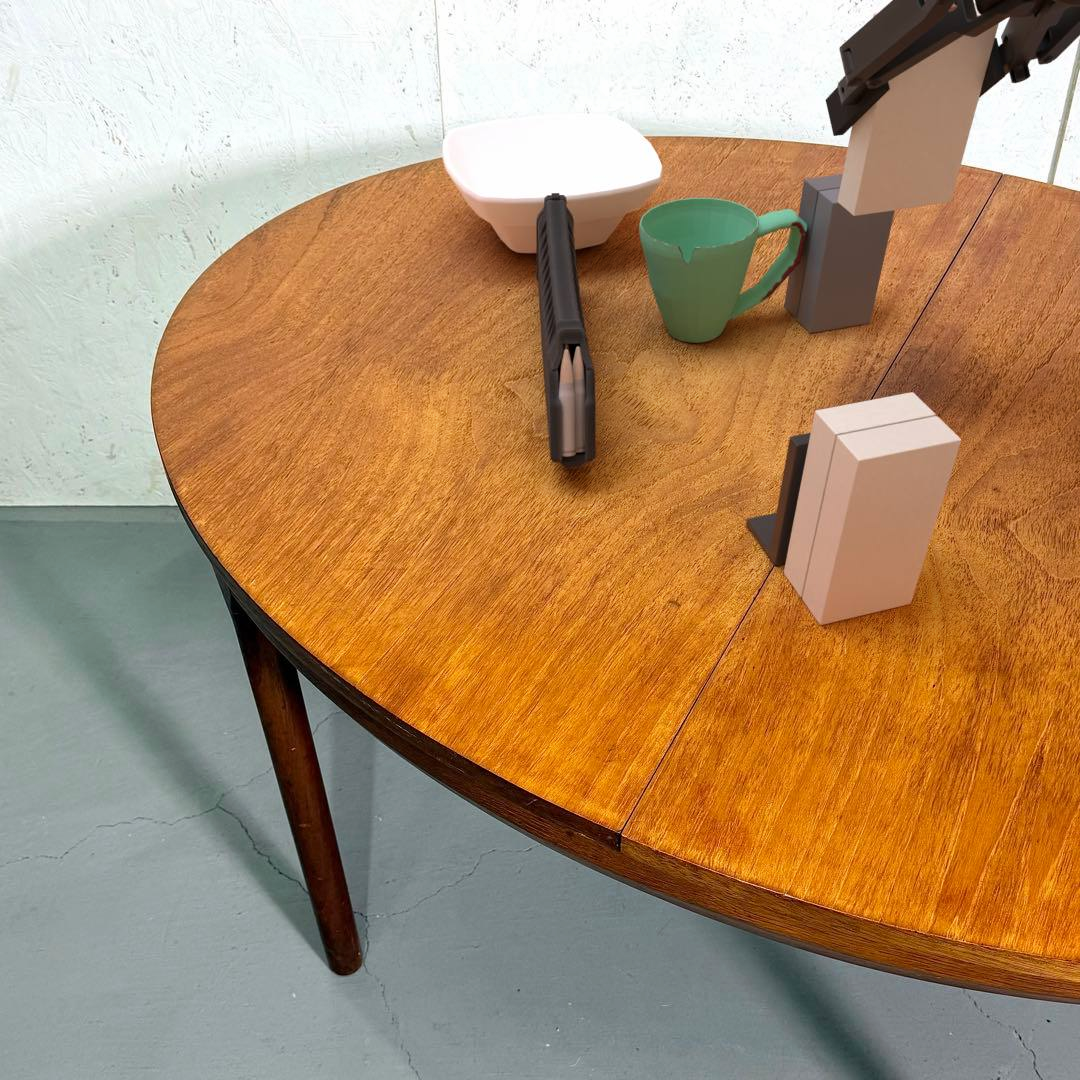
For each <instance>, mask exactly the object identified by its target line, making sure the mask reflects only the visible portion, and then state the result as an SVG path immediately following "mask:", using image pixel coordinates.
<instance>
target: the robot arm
mask: <svg viewBox="0 0 1080 1080" xmlns="http://www.w3.org/2000/svg"><path fill="white" fill-rule="evenodd" d="M974 3H975V4H976V8H977V11H978V12H979V14H981V15H980V16H978V17H977V13H976V9H975V5H974ZM877 13H878V14H876V15H875V16H874V17H873V16H872V18H871V19H870V20H868V21H867V22H866V23H865V24H864V25H863V26H862V27H861V28H859V29H858V30H857V31H856V32H855V33H854V34H852V35H851V36H850V37H849V38H848V39H847V40H846V41H844V43H842V44H841V45H840V46H839V48H838V50H839V54H840V58H841V62H842V67H843V72H844V76H843V77H842V78H841V79H840V80H839V81H838V83H837V87H835V89H834V90H833V91H832V92H831V93H830V94H829V95H828V96H827V97H826V99H825V104H826V109H827V113H828V117H829V118H828V119H829V122H830V126H831V130H832V135H833V137H837V136H844V135H845V134H846V133H847V132H848V131H849V130H851V129H852V126H853V125H854V124H855V123H856V122H857V121H858V120H859V119H860V118H861V117H862V116H863V115H864V114H865V113H866V112H867V111H868V110H869V109H870V108H871V107H872V106H873V105H874V104H875V103H876V102H877V101H878V100H879V99H881V98H882V97H883V96H884V95H885V94H886V93H887V92H888V91H889V90H890V87H889V83H888V81H890V80H892V79H893V78H895V77H896V76H898V75H900V74H901V73H903V72H905V71H906V70H908V69H910V68H911V67H913V66H914V65H916V64H918V63H919V62H921V61H923V60H924V59H926V58H928V57H929V56H931V55H932V54H934V53H936V52H937V51H939V50H941V49H942V48H944V47H946V46H947V45H949V44H950V43H952V42H954V41H955V40H957V39H959V38H960V37H962V36H964V35H965V36H969V37H977V36H978V35H980V34H982V33H983V32H985V31H987V30H988V29H990V28H992V27H993V26H995V25H997V24H998V23H999V24H1001V23H1002V22H1004V21H1005V20H1006V19H1008V20H1007V22H1006V24H1005V27H1004V28H1003V31H1002V34H1001V35H1000V39H1001V43H1000V44H999V42H998V38H997V37H995V40H994V43H993V47H992V51H991V54H990V58H989V62H988V66H987V69H986V73H985V77H984V81H983V84H982V88H981V92H980V96H979V99H980V98H981V97H983V95H985V94H986V93H987V92H988V91H990V90H991V89H992V88H994V87H995V86H996V85H997V84H998V83H999V82H1001V81H1002V80H1003V79H1004V78H1005V77H1006V76H1007V75H1008V74H1009V77H1010V82H1011V83H1012V84H1018V83H1021V82H1025V81H1026V80H1027V79H1030V77H1031V72H1030V68H1029V64H1030V63H1031V61H1033V60H1037V63H1038V65H1041V66H1042V65H1043V66H1044V65H1048V64H1051V63H1052V62H1053V61H1056V60H1057V59H1058V58H1059V57H1060V56H1061V55H1062V54H1063V53H1064V52H1065V51H1066V50H1067V49H1068V48H1069V47H1070V46H1071V45H1072V44H1073V43H1074V42H1075V41H1076V40H1077V39H1078V38H1079V37H1080V0H891V1H890V2H889V3H887V4H886V5H885V6H884V7H883V8H882V9H881V10H880V11H879V12H877Z"/></svg>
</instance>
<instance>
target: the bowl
mask: <svg viewBox="0 0 1080 1080" xmlns="http://www.w3.org/2000/svg"><path fill="white" fill-rule="evenodd" d="M441 155H442V156H441V157H442V158H441V159H442V163H443V167H444V170H445V171H446V173H447V174H448V176H449V178H450V179H451V181H452V182H453V184H454V185H455V187H456V188H457V190H458V191H459V193H460V195H461V196H462V198H463V199H464V201H465V202H466V204H467V205H468V206H469V208H470V209H471V210H472V211H473V212H475V214H476V215H477V216H478V217H479V218H481V219H483V220H484V221H486V222H487V223H489V224H490V226H491V227H492V228H493V230H494V231H495V233H496V235H497V236H498V238H499V239H500V240H501V241H502V243H504V244H505V245H506V246H507V247H508V248H509V249H510V250H511V251H512V252H514V253H516V254H517V253H519V254H536V219H537V216H538V214H539V213H540V211H541V210H542V209H543V207H544V198H545V197H546V196H547V195H551V193H559V195H564V196H565V197H566V200H567V208H568V209H569V211H570V212H571V214H572V215H573V219H574V229H573V233H574V240H575V241H574V244H575V251H576V250H581V249H586V248H589V247H594V246H598V245H601V244H603V243H606V242H607V241H608V239H609V238H610V237H611V235H612V234H613V233H614V231H615V230H616V229H617V227H618V226H619V224H620V223H621V222H622V220H623V219H624V218H625V217H626V215H627V214H629V213H632V212H635V211H639V210H640V209H642V208H643V207H644V206H645V204H646V202H647V201H648V200H649V199H650V198H651V196H652V194H653V193H654V192H655V190H656V189H657V188H658V186H659V185H660V184H661V183H662V177H663V172H664V167H663V164H662V162H661V160H660V157H659V155H658V153H657V152H656V150H655V148H654V147H653V145H652V143H651V142H650V141H649V140H648V139H647V138H645V137H644V135H642V134H641V132H639V131H638V130H637V129H635V128H634V127H632V126H631V125H630V124H628V122H625V121H623V120H621V119H619V118H617V117H615V116H612V115H610V114H603V113H601V114H600V113H553V114H539V115H526V116H517V117H512V118H511V117H509V118H502V119H501V118H500V119H493V120H489V121H482V122H475V123H471V124H466V125H463V126H459V127H455V128H451V129H449V130H448V132H446V135H445V137H444V139H443V140H442V141H441Z"/></svg>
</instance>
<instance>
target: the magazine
mask: <svg viewBox="0 0 1080 1080" xmlns="http://www.w3.org/2000/svg"><path fill="white" fill-rule="evenodd" d="M573 229H574V219H573V215H572V214H571V212H570V211H569V209H568V208H567V200H566V197H565V196H564V195H559V193H551V195H547V196H546V197H545V198H544V207H543V209H542V210H541V211H540V213H539V214H538V216H537V219H536V253H535V254H536V267H535V268H536V271H535V273H536V280H537V289H538V306H539V307H538V308H539V324H540V325H539V326H540V340H541V354H542V355H541V356H542V368H543V369H542V370H543V385H544V397H545V409H546V421H547V430H548V449H549V457H550V460H551V461H552V463H559V464H561V465H562V466H563V467H564V468H567V469H569V468H571V469H572V468H581V467H582V466H583V465H585V464H586V463H589V462H590V463H591V462H593V461H594V460H595V458H596V428H597V427H596V425H597V424H596V421H597V419H596V417H597V416H596V412H597V411H596V409H597V408H596V407H597V406H596V372H595V367H594V363H593V358H592V356H591V353H590V347H589V342H588V336H587V330H586V326H585V325H586V324H585V318H584V313H583V312H584V310H583V305H582V298H581V290H580V289H581V287H580V283H579V273H578V263H577V255H576V254H577V253H576V250H575V244H574V241H575V240H574V233H573Z"/></svg>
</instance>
